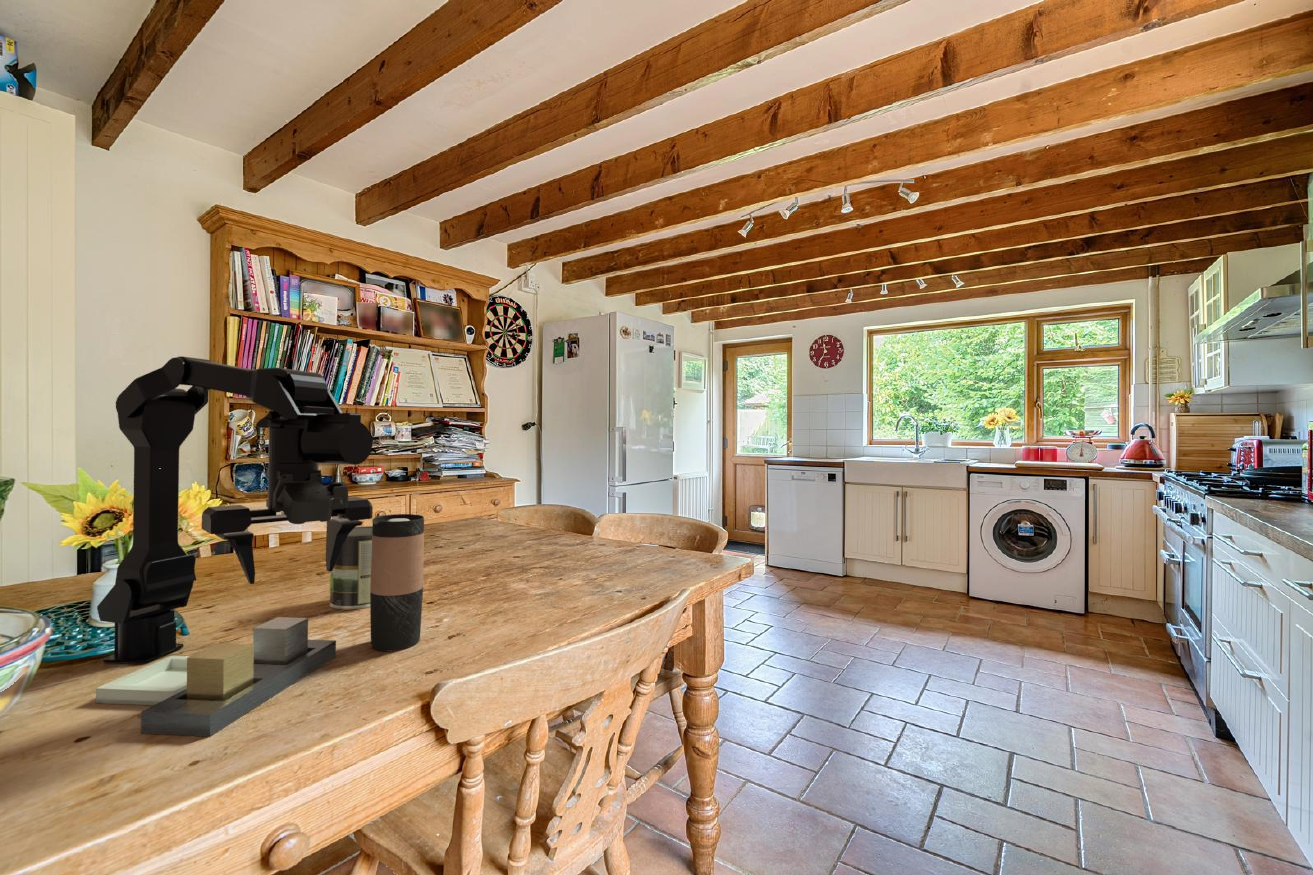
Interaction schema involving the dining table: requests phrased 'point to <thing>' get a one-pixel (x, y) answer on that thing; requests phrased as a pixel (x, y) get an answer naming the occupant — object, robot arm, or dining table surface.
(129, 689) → the tray
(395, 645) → the travel mug
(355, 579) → the coffee can
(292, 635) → the grey square block
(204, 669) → the beige wooden block
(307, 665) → the rail
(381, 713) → the dining table surface
